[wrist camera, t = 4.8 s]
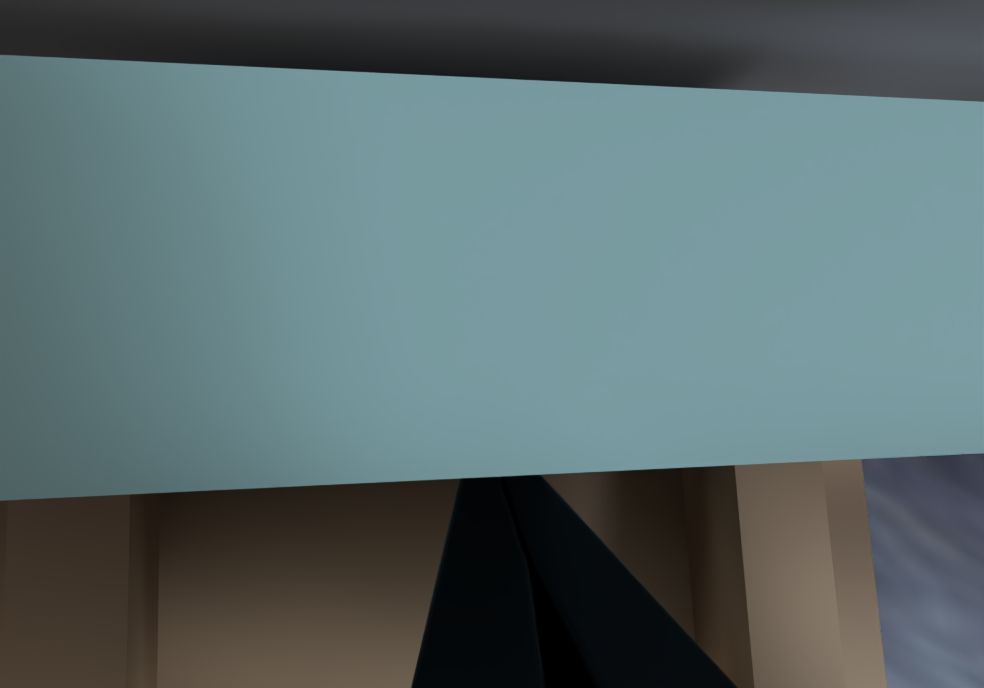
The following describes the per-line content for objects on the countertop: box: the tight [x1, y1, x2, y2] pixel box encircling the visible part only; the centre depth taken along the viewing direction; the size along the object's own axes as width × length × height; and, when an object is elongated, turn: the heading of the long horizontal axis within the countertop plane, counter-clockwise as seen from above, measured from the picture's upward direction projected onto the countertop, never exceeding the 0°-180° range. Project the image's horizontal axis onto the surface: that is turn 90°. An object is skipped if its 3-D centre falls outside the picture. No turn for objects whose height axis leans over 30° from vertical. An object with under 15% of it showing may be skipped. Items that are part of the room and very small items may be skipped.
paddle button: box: [0, 55, 984, 501], centre depth 10 cm, size 3×8×8 cm, turn 92°
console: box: [0, 0, 984, 688], centre depth 10 cm, size 14×16×11 cm
